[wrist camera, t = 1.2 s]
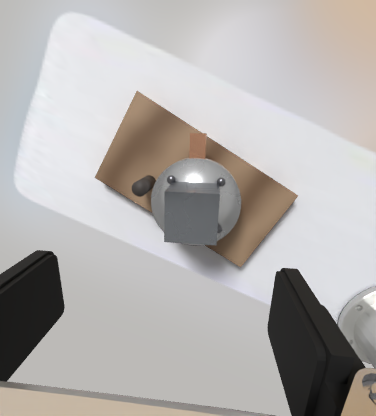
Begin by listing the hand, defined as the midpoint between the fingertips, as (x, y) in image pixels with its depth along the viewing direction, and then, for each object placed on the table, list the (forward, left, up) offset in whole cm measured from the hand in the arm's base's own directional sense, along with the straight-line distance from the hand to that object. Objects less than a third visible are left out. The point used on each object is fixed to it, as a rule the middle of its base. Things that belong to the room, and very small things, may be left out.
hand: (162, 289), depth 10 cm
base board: (+1, 0, -21) cm, 21 cm away
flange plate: (0, -1, -16) cm, 16 cm away
